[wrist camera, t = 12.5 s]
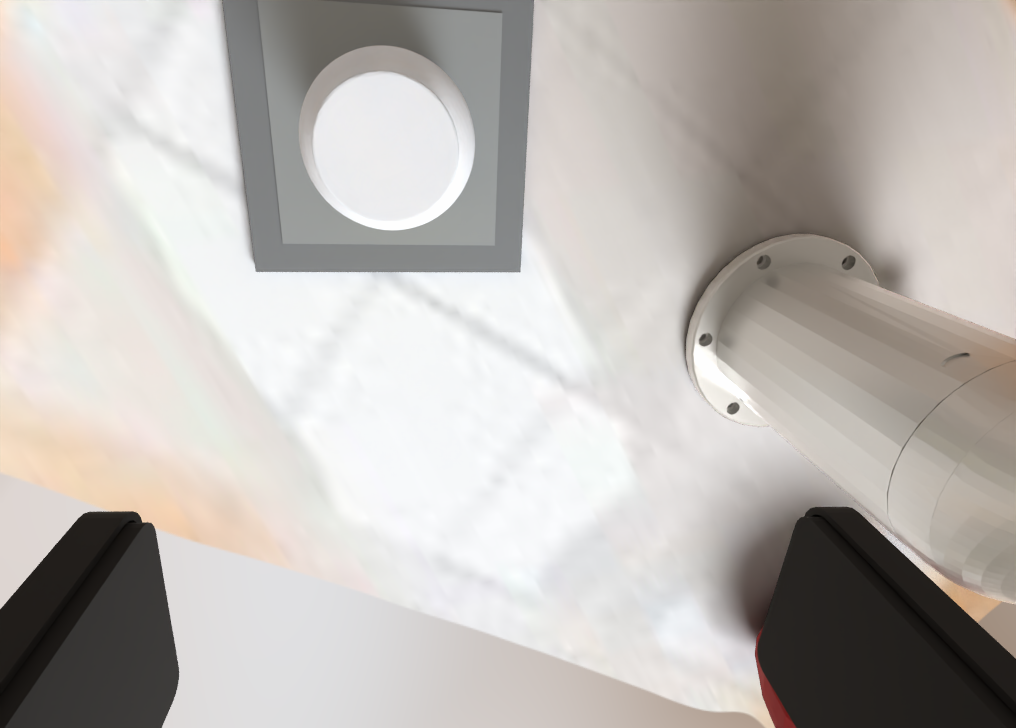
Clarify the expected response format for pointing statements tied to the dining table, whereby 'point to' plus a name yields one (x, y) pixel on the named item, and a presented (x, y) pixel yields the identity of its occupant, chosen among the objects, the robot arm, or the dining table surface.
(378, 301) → the dining table surface
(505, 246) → the coaster
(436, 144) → the pill bottle
